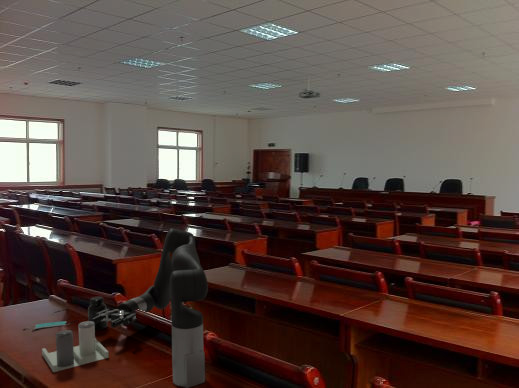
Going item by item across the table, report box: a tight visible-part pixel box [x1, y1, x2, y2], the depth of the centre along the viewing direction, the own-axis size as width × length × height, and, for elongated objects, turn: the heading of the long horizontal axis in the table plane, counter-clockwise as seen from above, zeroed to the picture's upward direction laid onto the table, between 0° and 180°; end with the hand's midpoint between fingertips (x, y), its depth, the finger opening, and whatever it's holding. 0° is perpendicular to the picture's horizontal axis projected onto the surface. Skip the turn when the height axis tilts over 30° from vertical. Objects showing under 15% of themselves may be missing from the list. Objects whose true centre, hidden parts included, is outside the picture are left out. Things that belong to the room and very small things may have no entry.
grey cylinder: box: [55, 329, 74, 367], centre depth 144 cm, size 5×5×10 cm
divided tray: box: [41, 338, 110, 373], centre depth 150 cm, size 16×17×3 cm
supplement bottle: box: [87, 296, 108, 332], centre depth 178 cm, size 7×7×12 cm
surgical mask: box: [22, 308, 79, 332], centre depth 181 cm, size 21×4×10 cm
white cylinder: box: [77, 320, 96, 356], centre depth 152 cm, size 5×5×10 cm
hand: (102, 323), depth 159 cm, fingers open, 8 cm apart
